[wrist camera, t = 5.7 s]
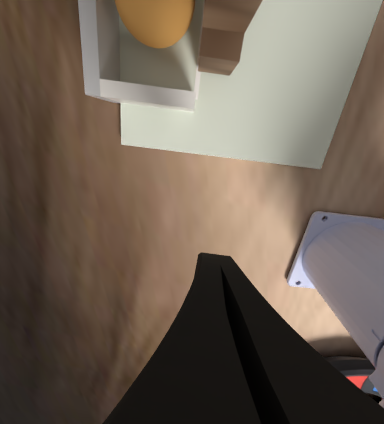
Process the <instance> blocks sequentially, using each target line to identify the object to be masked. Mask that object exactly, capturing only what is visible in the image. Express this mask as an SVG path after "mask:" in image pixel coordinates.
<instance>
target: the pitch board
mask: <svg viewBox="0 0 384 424" xmlns="http://www.w3.org/2000/svg"><path fill="white" fill-rule="evenodd" d="M382 1H383V0H263V1H262V2H261V4H260V6H259V8H258V10H257V11H256V13H255V15H254V17H253V19H252V21H251V22H250V24H249V26H248V28H247V30H246V32H245V33H244V39H243V45H242V50H241V56H240V62H239V63H238V65H237V66H236V67H235V69H234V70H233V72H232V73H231V74H230V76H228V75H221V74H214V73H207V72H199V71H198V64H199V52H200V43H201V34H202V24H203V12H204V0H195V8H194V13H193V17H192V21H191V23H190V26H189V28H188V29H187V31H186V33H185V34H184V36H183V37H182V38H181V39H180V40H179V41H178V42H176V43H175V44H173V45H172V46H169V47H166V48H152V47H149V46H147V45H145V44H143V43H141V42H140V41H138V40H137V39H136V38H135V37H134V36H133V35H132V34H131V33H130V32H129V31H128V29H127V28H126V26H125V25H124V23H123V22H122V20H121V18H120V15H119V38H120V82H127V83H134V84H142V85H149V86H156V87H164V88H171V89H178V90H186V91H193V92H196V98H195V108H194V112H186V111H179V110H171V109H164V108H156V107H149V106H141V105H133V104H126V103H121V144H122V145H130V146H138V147H146V148H154V149H162V150H170V151H178V152H186V153H194V154H202V155H210V156H218V157H226V158H234V159H242V160H250V161H258V162H266V163H274V164H282V165H290V166H298V167H306V168H314V169H321V167H322V165H323V162H324V159H325V156H326V154H327V151H328V148H329V146H330V143H331V140H332V137H333V135H334V132H335V129H336V127H337V124H338V121H339V118H340V116H341V113H342V110H343V107H344V105H345V102H346V99H347V97H348V94H349V91H350V88H351V86H352V83H353V80H354V78H355V75H356V72H357V69H358V67H359V64H360V61H361V59H362V56H363V53H364V50H365V48H366V45H367V42H368V40H369V37H370V34H371V31H372V29H373V26H374V23H375V20H376V18H377V15H378V12H379V10H380V7H381V4H382Z"/></svg>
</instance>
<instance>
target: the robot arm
mask: <svg viewBox="0 0 384 424" xmlns="http://www.w3.org/2000/svg"><path fill="white" fill-rule="evenodd" d="M324 216H325V218H324V219H322V218H323V217H324ZM297 281H298V282H297ZM287 283H288V285H290V286H295V287H305V288H315V289H316V290H317V291H318V292H319V294H320V295H321V296H322V298H323V299H324V300H325V302H326V303H327V304H328V306H329V307H330V308H331V310H332V311H333V312H334V314H335V315H336V316H337V318H338V319H339V320H340V322H341V323H342V324H343V326H344V327H345V328H346V330H347V331H348V332H349V334H350V335H351V336H352V338H353V339H354V340H355V342H356V343H357V344H358V346H359V347H360V348H361V350H362V351H363V352H364V354H365V355H366V356H367V358H368V359H369V360H370V362H371V363H372V364H373V366H374V367H375V368H376V370H375V371H374V372H373V374H372V375H370V376H369V379H370V381H371V382H372V384H373V385H374V387H375V388H376V389H377V391H378V392H379V394H380V395H381V397H382V398H383V399H382V400H381V401H380V402H379V404H378V403H377V402H376V401H375V400H373V399H372V398H371V397H370V396H368V395H367V394H366V393H365V392H363V391H362V390H361V389H360V388H358V387H357V386H356V385H355V384H354V383H353V382H351V381H350V380H349V379H348V378H347V377H346V376H344V375H343V374H342V373H341V372H340V371H338V370H337V369H336V368H335V367H334V366H333V365H331V364H330V363H329V362H328V361H327V360H326V359H325V358H324V357H322V356H321V355H320V354H319V353H318V352H317V351H316V350H315V349H314V348H312V347H311V346H310V345H309V344H308V343H307V342H306V341H305V340H304V339H303V338H302V337H301V336H300V335H299V334H298V333H297V332H296V331H295V330H294V329H293V328H292V327H291V326H290V325H289V324H288V323H287V322H286V321H285V320H284V319H283V318H282V317H281V316H280V315H279V314H278V313H277V312H276V311H275V310H274V308H273V307H272V306H271V305H270V304H269V303H268V302H267V301H266V300H265V298H264V297H263V296H262V295H261V294H260V293H259V291H258V290H257V289H256V288H255V287H254V285H253V284H252V283H251V282H250V281H249V279H248V278H247V277H246V276H245V274H244V273H243V272H242V270H241V269H240V268H239V267H238V265H237V264H236V263H235V261H234V260H233V259H232V258H231V256H224V255H216V254H209V253H200V254H199V255H198V260H197V265H196V270H195V275H194V280H193V282H192V285H191V288H190V290H189V292H188V294H187V296H186V298H185V301H184V303H183V305H182V307H181V309H180V311H179V312H178V314H177V316H176V318H175V320H174V322H173V323H172V325H171V327H170V328H169V330H168V332H167V333H166V335H165V337H164V338H163V340H162V341H161V343H160V345H159V346H158V348H157V349H156V351H155V352H154V354H153V355H152V357H151V358H150V360H149V361H148V363H147V364H146V366H145V367H144V368H143V370H142V371H141V373H140V374H139V375H138V377H137V378H136V380H135V381H134V382H133V384H132V385H131V387H130V388H129V389H128V391H127V392H126V393H125V395H124V396H123V398H122V399H121V400H120V402H119V403H118V404H117V406H116V407H115V408H114V410H113V411H112V412H111V414H110V415H109V416H108V417H107V419H106V420H105V421H104V422H103V424H384V219H382V218H374V217H365V216H357V215H348V214H339V213H331V212H322V211H316V212H314V213H313V214H312V215H311V218H310V220H309V223H308V226H307V228H306V231H305V233H304V236H303V239H302V241H301V244H300V247H299V249H298V252H297V254H296V257H295V260H294V262H293V265H292V267H291V270H290V273H289V275H288V278H287Z"/></svg>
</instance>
